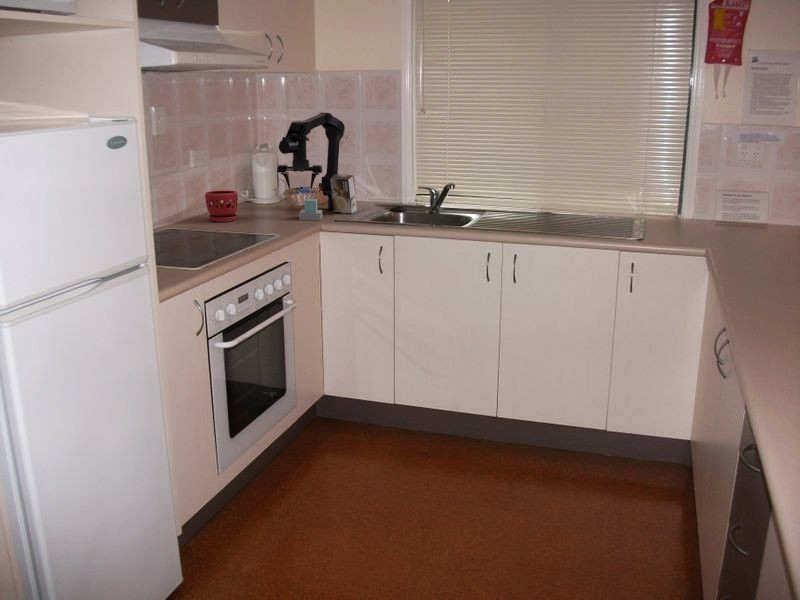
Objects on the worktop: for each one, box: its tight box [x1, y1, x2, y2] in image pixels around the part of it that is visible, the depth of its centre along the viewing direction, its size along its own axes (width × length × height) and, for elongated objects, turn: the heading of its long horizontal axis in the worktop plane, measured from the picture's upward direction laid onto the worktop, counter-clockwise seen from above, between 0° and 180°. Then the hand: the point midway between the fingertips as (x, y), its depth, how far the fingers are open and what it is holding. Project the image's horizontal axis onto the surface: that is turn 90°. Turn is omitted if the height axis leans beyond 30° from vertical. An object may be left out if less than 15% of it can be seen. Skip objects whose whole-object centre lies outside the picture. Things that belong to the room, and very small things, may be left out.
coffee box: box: [330, 173, 358, 214], centre depth 355 cm, size 9×6×16 cm
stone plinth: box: [298, 209, 323, 221], centre depth 341 cm, size 9×9×3 cm
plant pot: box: [204, 189, 239, 223], centre depth 332 cm, size 13×13×12 cm
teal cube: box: [303, 198, 318, 213], centre depth 340 cm, size 5×5×5 cm
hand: (300, 189), depth 343 cm, fingers open, 9 cm apart
